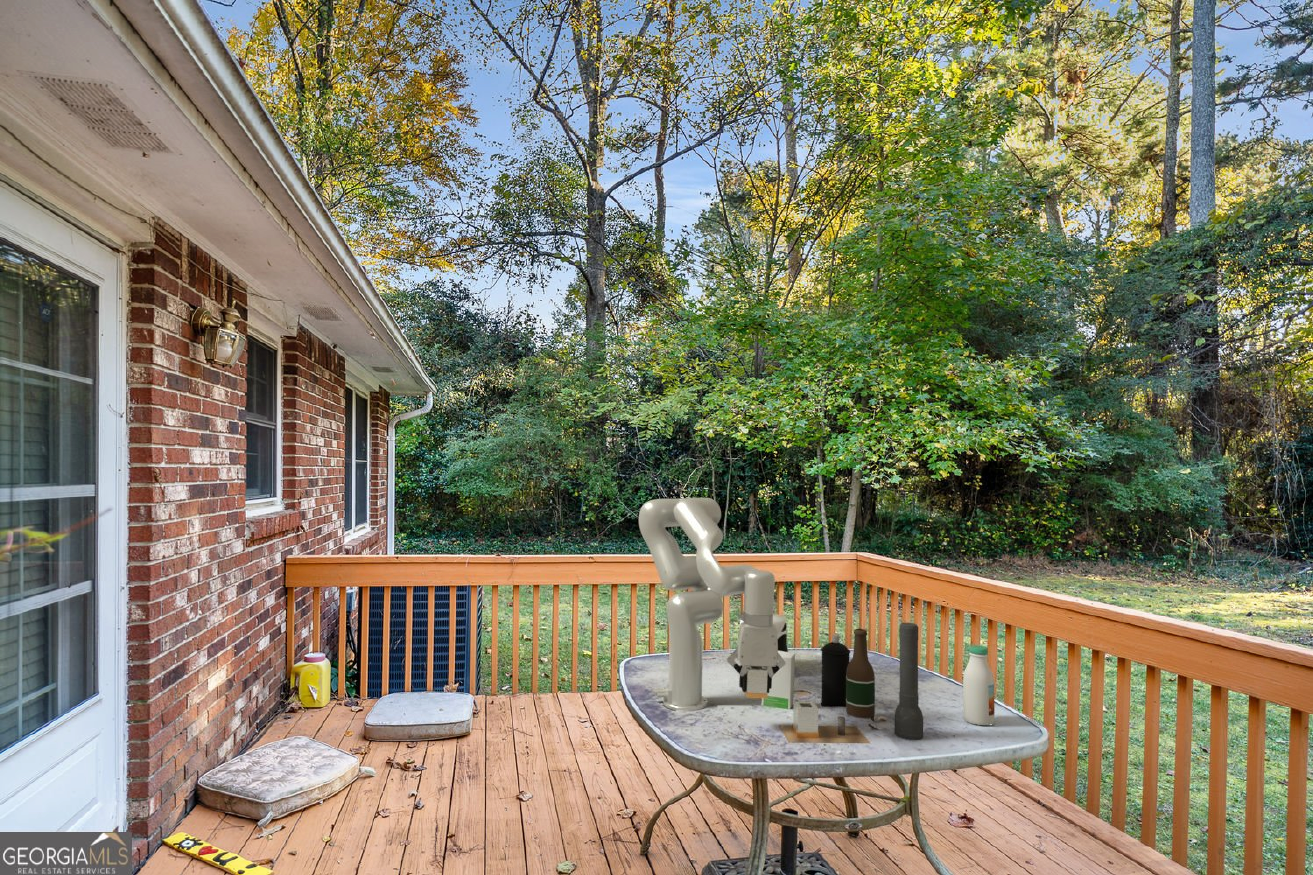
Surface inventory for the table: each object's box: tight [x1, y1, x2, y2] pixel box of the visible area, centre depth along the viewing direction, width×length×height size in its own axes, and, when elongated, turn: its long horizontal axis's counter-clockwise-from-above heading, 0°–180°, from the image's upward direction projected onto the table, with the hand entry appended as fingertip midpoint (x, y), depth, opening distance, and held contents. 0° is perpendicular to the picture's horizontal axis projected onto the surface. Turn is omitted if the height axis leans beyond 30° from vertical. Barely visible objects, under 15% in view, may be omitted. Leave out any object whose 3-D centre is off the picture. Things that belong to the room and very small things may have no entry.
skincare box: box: [761, 651, 796, 710], centre depth 193 cm, size 8×7×16 cm
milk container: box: [736, 613, 789, 666], centre depth 229 cm, size 17×17×18 cm
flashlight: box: [893, 622, 924, 741], centre depth 176 cm, size 7×28×7 cm
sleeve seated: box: [792, 701, 819, 738], centre depth 171 cm, size 5×5×7 cm
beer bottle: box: [845, 628, 876, 722], centre depth 187 cm, size 8×8×24 cm
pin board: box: [779, 716, 871, 744], centre depth 171 cm, size 20×11×6 cm, turn 91°
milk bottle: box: [962, 644, 996, 726], centre depth 186 cm, size 8×8×20 cm
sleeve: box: [743, 666, 768, 699], centre depth 175 cm, size 5×5×7 cm
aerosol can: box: [820, 634, 851, 708], centre depth 197 cm, size 8×8×20 cm
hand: (755, 689), depth 175 cm, fingers closed on sleeve, 5 cm apart
